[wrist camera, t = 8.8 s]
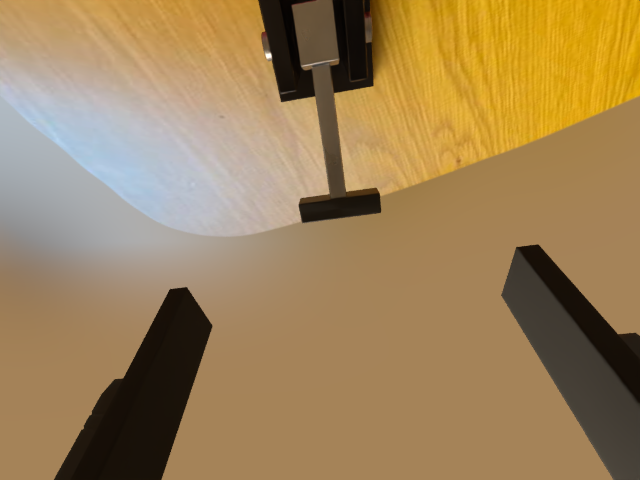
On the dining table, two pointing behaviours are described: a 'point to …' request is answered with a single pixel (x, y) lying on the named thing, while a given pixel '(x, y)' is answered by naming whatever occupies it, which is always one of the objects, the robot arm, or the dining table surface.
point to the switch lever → (327, 113)
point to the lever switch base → (351, 40)
